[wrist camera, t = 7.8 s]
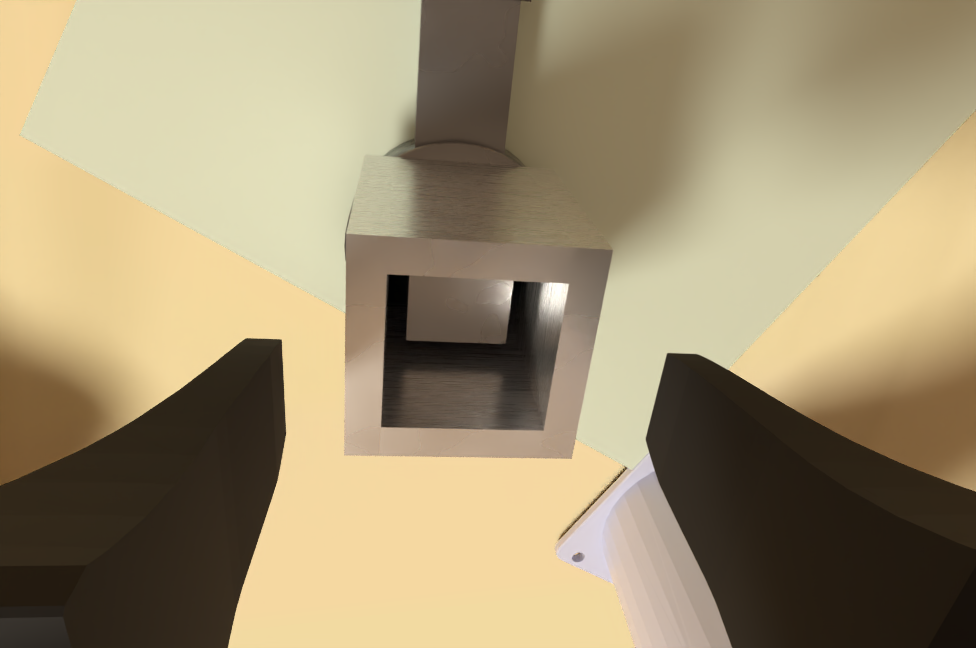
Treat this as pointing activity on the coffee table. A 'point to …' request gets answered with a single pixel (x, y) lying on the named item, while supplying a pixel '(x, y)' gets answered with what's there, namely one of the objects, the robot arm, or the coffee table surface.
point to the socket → (458, 365)
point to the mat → (536, 142)
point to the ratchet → (460, 152)
